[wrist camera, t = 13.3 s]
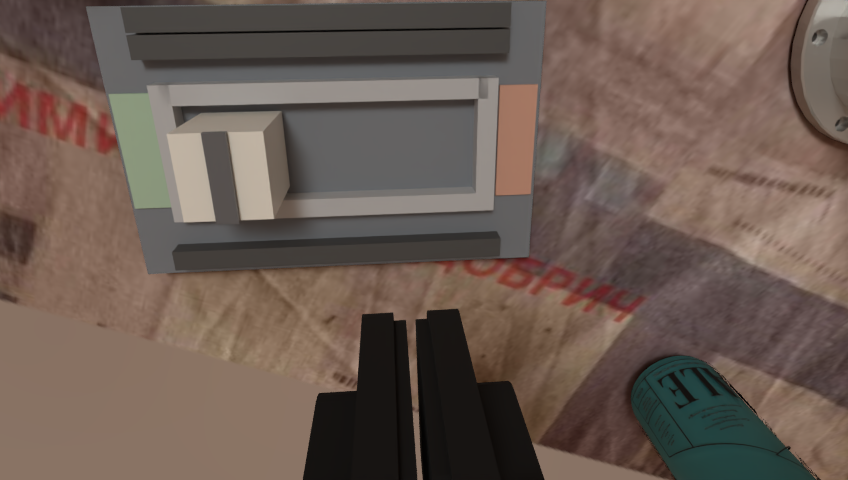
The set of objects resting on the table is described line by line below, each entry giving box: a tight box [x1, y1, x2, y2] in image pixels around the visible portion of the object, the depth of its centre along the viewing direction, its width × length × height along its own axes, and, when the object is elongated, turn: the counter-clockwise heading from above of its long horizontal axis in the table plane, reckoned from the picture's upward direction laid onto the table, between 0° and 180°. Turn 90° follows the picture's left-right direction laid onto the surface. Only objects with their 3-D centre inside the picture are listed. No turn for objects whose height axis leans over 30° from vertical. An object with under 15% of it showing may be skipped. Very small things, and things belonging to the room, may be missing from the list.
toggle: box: [167, 111, 290, 225], centre depth 26 cm, size 4×4×5 cm
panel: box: [86, 1, 546, 274], centre depth 30 cm, size 22×14×3 cm, turn 90°
